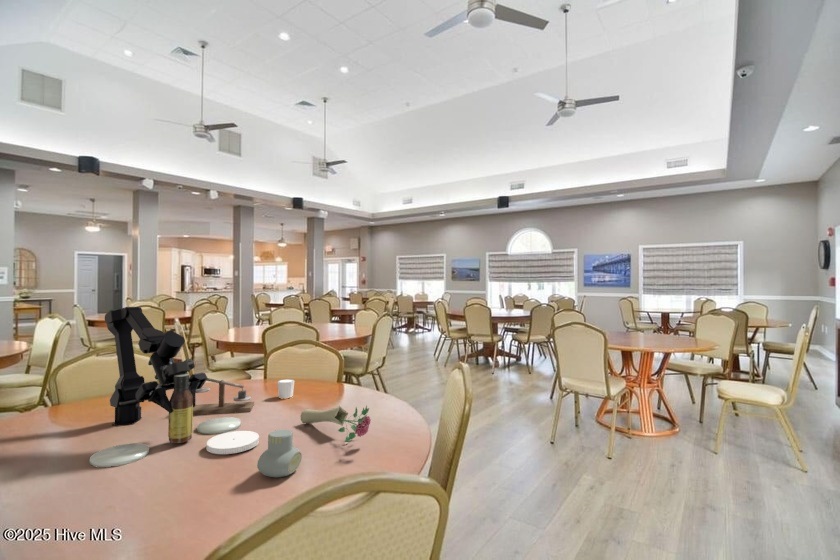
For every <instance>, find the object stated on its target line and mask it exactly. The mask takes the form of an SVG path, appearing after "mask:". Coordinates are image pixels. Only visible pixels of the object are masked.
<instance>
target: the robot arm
mask: <svg viewBox="0 0 840 560" xmlns="http://www.w3.org/2000/svg"><path fill="white" fill-rule="evenodd" d="M104 323H105V324H106V327H107V330H108V331H109V333H111V334H112V335H113V336H114V340H115V341H114V342H115V349H116V357H117V358H116V359H117V364H118V372H119V377H118V379H117V381H116V383H115V385H114V389H115V390H114V391H113V393H112V394H111V397H110V398H109V404H110V407H112V408H114V422H112V423H111V425H112V426H122V425H124V426H125V425H133V424H136V423H137V422H139V420H141V419H142V406H141V405H140V404H141V403H144V402H145V401H147V402H149V403H151V402H152V403H154V404H155V405H157V406H159V407H161V408H162V409H164V410H165V411H166V412H168V414H169V413H172V412H173V409H172V406H171V404H170V399H169V398H168V397H169V396H168V395H167V391H169V390H174V375H176V374H180V373H188V372H191V370H193V369H194V368H195V361H194V360H193V359H192V358H187V359H185V360H182V361H176V362H175V360H174V358H175V357H176V356H177V355H178V354H179V352H180V351H181V349H182V347H183V346H184V344H185V341H186V339H185V338H184V337H183V335H181V334H180V333H177V332H175V331H174V330H166V331H165V332H164V331H162V330H159V329H157V328H155V327H154V325H152V323H151V322H150V320H149V319H148V317H146V315H145V314H144V313H143V309H142V307H140V306H125V307H122V308H118V309H110V310H109V311H108V312H107V313H105V315H104ZM133 331H134V332H135V334H136V335H137V337H138V338H139V340H138V346H139V349H140V351H141V352H142V353H143V354H144V355H145V354H151V355H150V357H149V360H148V363H147V365H148V366H152V368H153V371H154V373H155V375H154V378H155V380H152V381H148V382H145V377H144V376H143V375H140V374H138V372H137V367H136V366H137V365H136V358H135V351H134V344H133V336H132V332H133ZM207 379H208V376H207V374H206V373H205V372H198V373H192V374H191V375H190V376H189V383H188V386H189V388H188V390H189V391H190V392H191V394H192V396H193V401H192V402H193V407H195V405H196V394H197V393H196V390H197V389H200V388H201V387H203V386H204V384H205V383H206V382H207V381H206V380H207ZM156 380H158V381H156Z"/></svg>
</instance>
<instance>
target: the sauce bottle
mask: <svg viewBox="0 0 840 560" xmlns="http://www.w3.org/2000/svg"><path fill="white" fill-rule="evenodd" d="M189 378H190V373H188V372H186V373H180V374H176V375H174V389H173V390H172V394H171V396H170V399H169V401H170V404H171V406H172V409H173V412H172V413H169V412H168V431H167V432H168V434H167V436H168V442H169V443H171V444H182V443H185V442H188V441H190V440H191V439H192V433H193V421H194V420H193V419H194V415H193V402H192V401H193V396H192V394H191V392H190V391H189V390H188V388H189V386H188V383H189Z"/></svg>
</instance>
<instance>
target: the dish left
mask: <svg viewBox="0 0 840 560" xmlns="http://www.w3.org/2000/svg"><path fill="white" fill-rule="evenodd" d="M149 452H150V446H149V445H148V444H145V443H140V442H139V443H137V442H136V443H124V444H118V445H115V446H114V445H113V446H111V447H106V448H104V449H101V450H99V451H96V452H95V453H93V454H92V455H91V456H90V457H89V465H90V464H91V465H93V466H97V467H96V468H99V467H106V468H112V467H111V466H115V467H118V466H117V465H121V466H124V465H123V464H125V465H128V463H129V464H131V463H135V462H137V461H139V460H142V459H143V458H145V457H147V456H148V454H149ZM91 465H90V466H91ZM93 466H92V467H93Z"/></svg>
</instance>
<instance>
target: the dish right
mask: <svg viewBox="0 0 840 560" xmlns="http://www.w3.org/2000/svg"><path fill="white" fill-rule="evenodd" d="M241 424H242V421H241V419H240V418H238V417H231V416H225V417H223V416H222V417H215V418H210V419H207V420H204V421H201V422H200V423H198V424H197V427H196V428H197V429H196V430H197V433H199V434H201V435H202V434H203V435H220V434H223V433H227V432H233V431H236V430H237V429H239V428H240V427H241Z"/></svg>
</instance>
